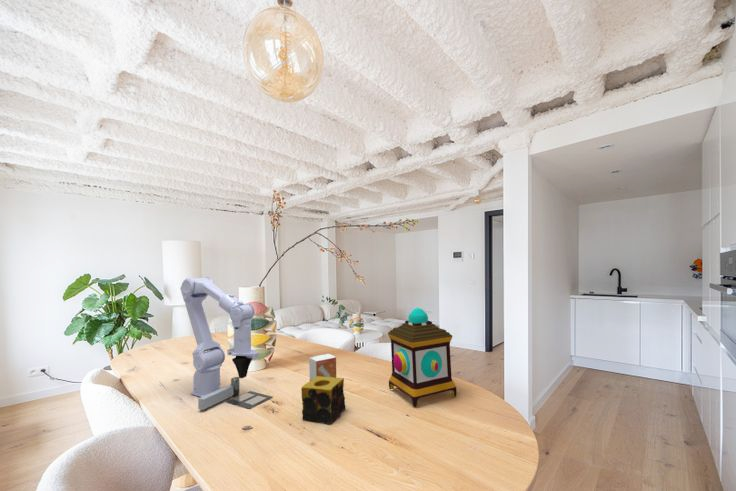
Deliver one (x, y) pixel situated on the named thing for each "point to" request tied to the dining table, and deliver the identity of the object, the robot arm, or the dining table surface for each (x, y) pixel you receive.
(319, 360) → the small box
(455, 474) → the dining table surface
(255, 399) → the label panel
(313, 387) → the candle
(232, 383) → the post
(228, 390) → the gray rectangular box
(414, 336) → the decorative lantern
